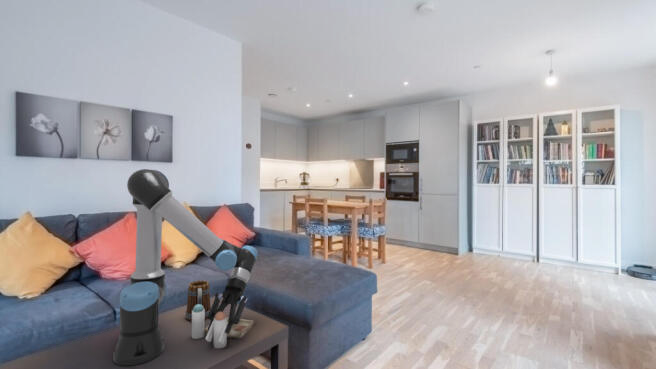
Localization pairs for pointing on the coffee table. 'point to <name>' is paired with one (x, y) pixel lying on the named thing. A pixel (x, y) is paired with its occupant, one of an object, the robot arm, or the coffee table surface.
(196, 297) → the mug
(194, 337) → the tube teal
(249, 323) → the tray
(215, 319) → the tube terracotta
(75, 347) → the coffee table surface
